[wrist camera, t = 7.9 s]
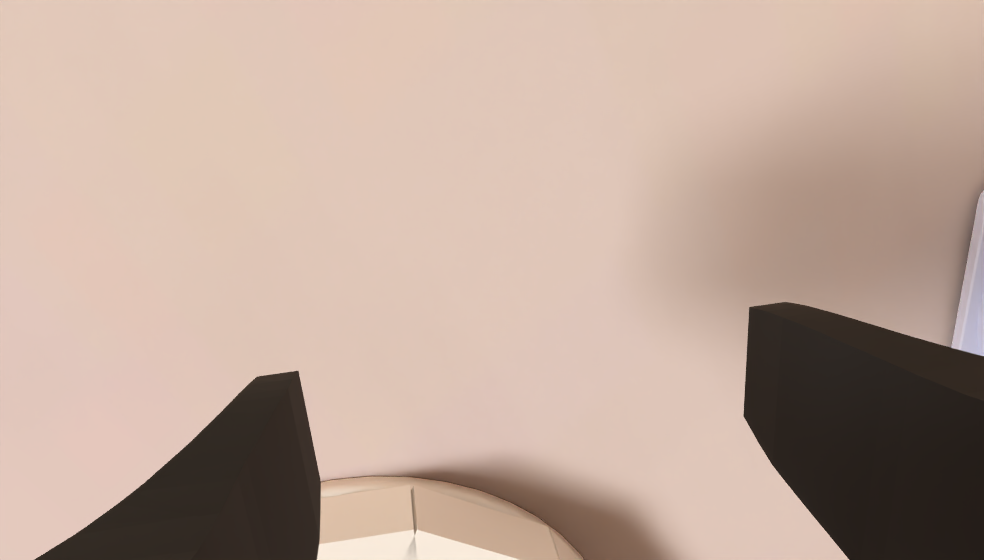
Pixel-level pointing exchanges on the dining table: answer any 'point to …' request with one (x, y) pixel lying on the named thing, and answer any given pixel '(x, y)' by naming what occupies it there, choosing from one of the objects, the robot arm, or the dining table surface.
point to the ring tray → (429, 523)
